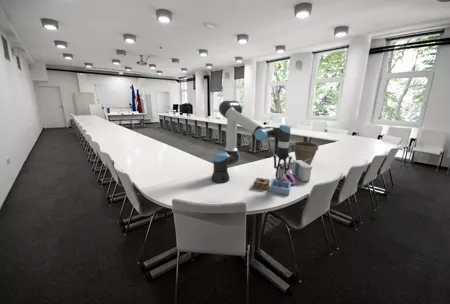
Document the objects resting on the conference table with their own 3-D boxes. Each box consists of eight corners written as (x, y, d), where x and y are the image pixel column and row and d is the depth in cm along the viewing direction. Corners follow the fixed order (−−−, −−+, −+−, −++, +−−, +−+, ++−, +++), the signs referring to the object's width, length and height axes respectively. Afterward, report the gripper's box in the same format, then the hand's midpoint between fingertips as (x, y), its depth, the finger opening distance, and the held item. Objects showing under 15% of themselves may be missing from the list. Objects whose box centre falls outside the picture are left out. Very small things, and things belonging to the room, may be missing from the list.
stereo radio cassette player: (291, 173, 184) (293, 152, 179) (299, 173, 184) (301, 152, 180) (301, 182, 164) (304, 159, 159) (311, 181, 164) (314, 158, 159)
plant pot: (321, 166, 206) (324, 145, 200) (300, 167, 200) (302, 146, 195) (306, 159, 229) (308, 141, 224) (287, 160, 224) (289, 142, 219)
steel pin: (276, 187, 147) (278, 165, 142) (277, 185, 151) (279, 163, 147) (282, 188, 145) (284, 165, 141) (283, 186, 149) (285, 164, 145)
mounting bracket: (294, 190, 162) (284, 174, 175) (298, 183, 157) (287, 167, 170) (284, 191, 159) (274, 175, 173) (287, 184, 154) (277, 168, 167)
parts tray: (268, 191, 145) (269, 186, 144) (272, 184, 157) (272, 179, 156) (288, 195, 140) (289, 189, 139) (290, 187, 152) (291, 182, 151)
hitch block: (253, 188, 151) (253, 181, 150) (256, 183, 160) (257, 177, 159) (266, 190, 147) (266, 184, 146) (269, 185, 156) (269, 179, 155)
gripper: (270, 146, 140) (268, 178, 146) (295, 149, 134) (291, 181, 140) (272, 145, 147) (270, 174, 153) (295, 147, 141) (292, 177, 147)
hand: (280, 177), depth 146 cm, fingers closed on steel pin, 3 cm apart
